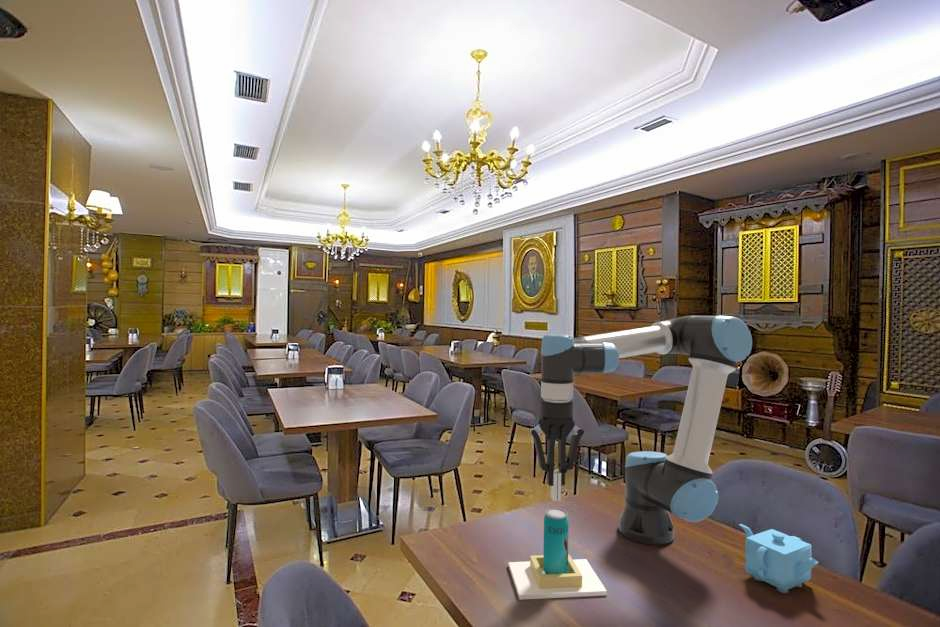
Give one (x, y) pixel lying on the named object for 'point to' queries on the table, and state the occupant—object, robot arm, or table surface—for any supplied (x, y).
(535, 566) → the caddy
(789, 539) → the teapot
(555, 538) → the beverage can
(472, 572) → the table surface
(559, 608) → the table surface
